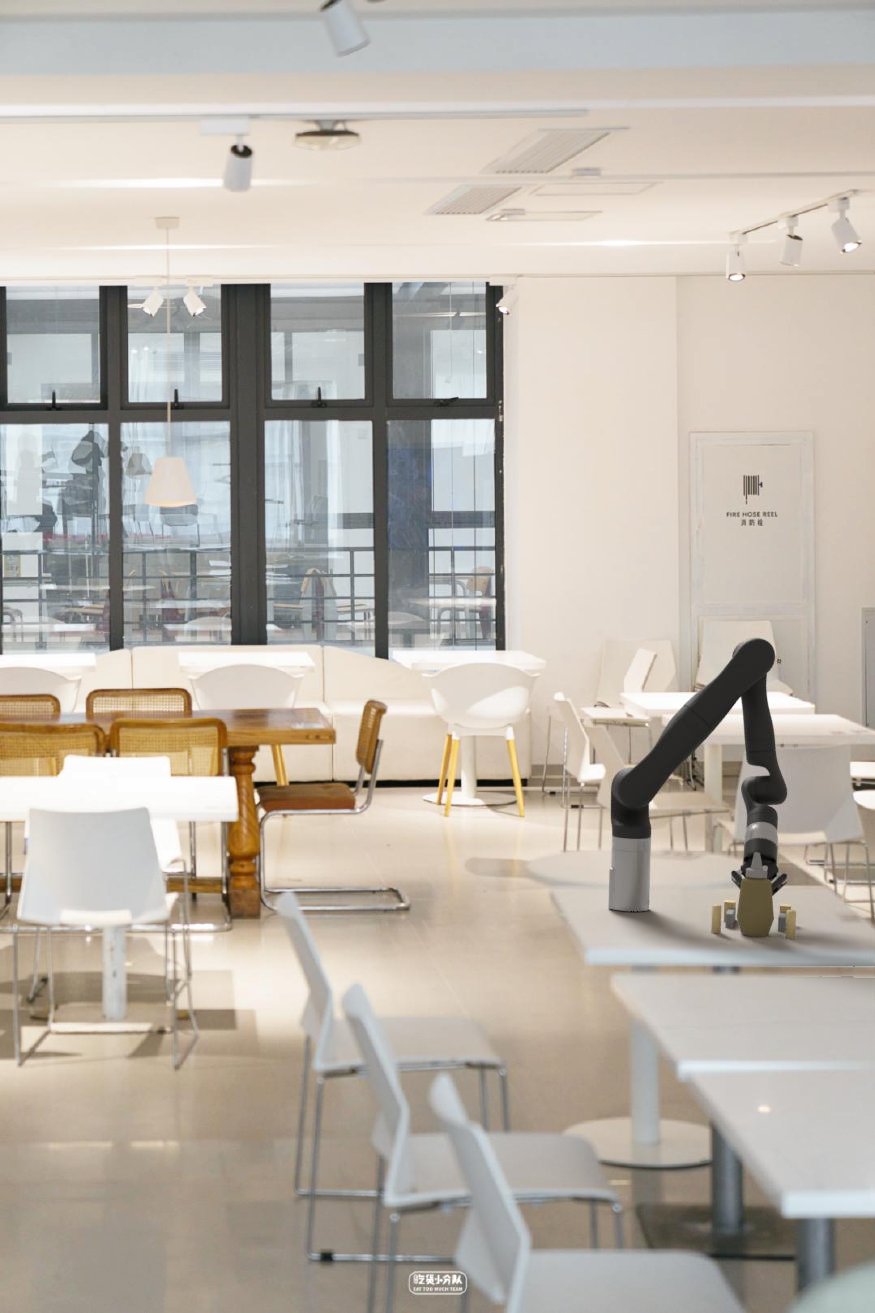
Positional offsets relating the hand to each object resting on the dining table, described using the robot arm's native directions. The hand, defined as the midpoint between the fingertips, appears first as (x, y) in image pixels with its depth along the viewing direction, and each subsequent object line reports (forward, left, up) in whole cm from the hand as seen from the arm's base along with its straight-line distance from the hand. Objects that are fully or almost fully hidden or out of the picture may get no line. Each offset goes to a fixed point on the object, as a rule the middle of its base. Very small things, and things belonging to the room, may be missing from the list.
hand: (757, 909), depth 338 cm
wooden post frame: (-1, +3, -5) cm, 6 cm away
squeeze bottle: (0, -4, -5) cm, 6 cm away
